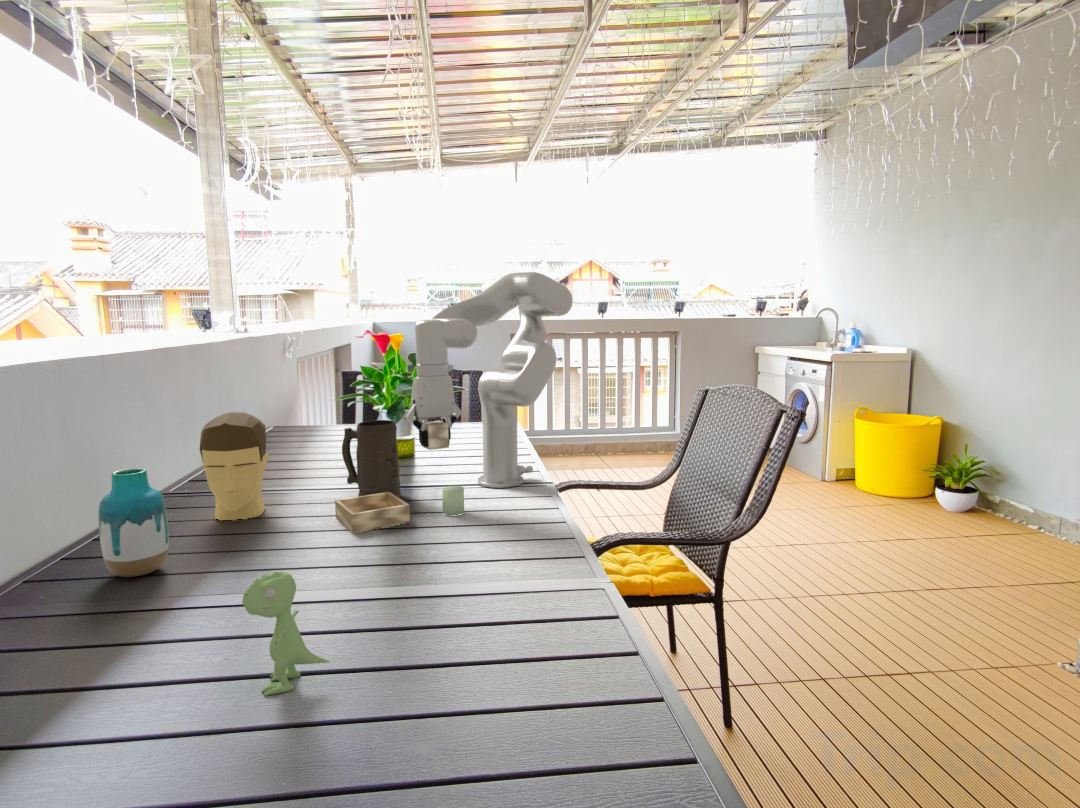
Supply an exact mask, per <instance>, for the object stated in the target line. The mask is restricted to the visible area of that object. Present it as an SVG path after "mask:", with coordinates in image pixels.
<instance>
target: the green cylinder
mask: <svg viewBox="0 0 1080 808" xmlns="http://www.w3.org/2000/svg"><path fill="white" fill-rule="evenodd" d="M464 489H465V488H464V486H461V485H447V486H444V487H442V489H441V490H442V514H443V513H444V514H446V515H458V514H462V513H464V514H465V490H464Z"/></svg>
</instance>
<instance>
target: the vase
mask: <svg viewBox="0 0 1080 808" xmlns="http://www.w3.org/2000/svg"><path fill="white" fill-rule="evenodd" d="M168 521H169V520H168V513H167V506H166V502H165V499H164V495H163V494H162V492H161V491H160V490H158V489H156V488H153V487H151V485H150V484H149V479H148V472H147V469H145V468H126V469H121V470H117V471H113V472H112V473H111V490H110V492H109V493H108V494H106V495H104V496H103V497H102V498H101V500H100V502H99V504H98V531H99V533H98V534H99V540H100V548H101V552H102V558H103V561H104V564H105V566H106V568H107V570H108V571H109V572H111V573H112V574H113V575H115V576H118V577H122V578H123V577H124V578H133V577H140V576H144V575H148V574H150V573H153V572H155V571H156V570H159V569H160V568H161V567H162V566H163V564H165V562H166V560H167V558H168V554H169V548H170V545H169V544H170V543H169V540H170V537H169V535H170V534H169V533H170V532H169V523H168Z"/></svg>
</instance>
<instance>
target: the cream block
mask: <svg viewBox="0 0 1080 808" xmlns="http://www.w3.org/2000/svg"><path fill="white" fill-rule="evenodd" d="M426 430H427V431H428V447H424V446H422V445H421V447H422V448H424V449H427V450H430V451H433V450H434V451H435V450H441V449H446V448H448V449H449V448H450V443H449V432H448V423H445V422H442V420H434V421H427V425H426Z"/></svg>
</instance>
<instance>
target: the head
mask: <svg viewBox="0 0 1080 808" xmlns="http://www.w3.org/2000/svg"><path fill="white" fill-rule="evenodd" d="M199 439H200V440H199V452H200V453H199V454H200V456H201V461H202V464H203V465H202V466H203V469H204V473H205V477H206V481H207V486H208V489H210V491H211V493H212V494H213V495H214V498H215V511H214V513H215V515H214V519H215V520H216V519H218V520H217V521H223V520H232V521H238V520H237V519H243V520H249V519H248V518H250V519H253V518H256V517H260V515H261V516H262V514H263V513H264V512H265V503H264V499H263V496H262V492H263V480H264V473H265V471H266V469H267V466H268V463H269V454H270V453H269V452H266V451H267V450H266V449H267V447H266V446H267V432H266V424H264V423H263V421H262V420H260V419H259V418H257V417H256V416H254V415H252V414H249V413H247V412H243V411H232V412H226V413H224V412H223V413H222V414H220V415H217V416H215V417H214V418H213V419H211V420H210V421H208V422H207V423H206V424H204V426H203V427H202V430H201V431H200V438H199ZM252 517H253V518H252Z"/></svg>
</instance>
